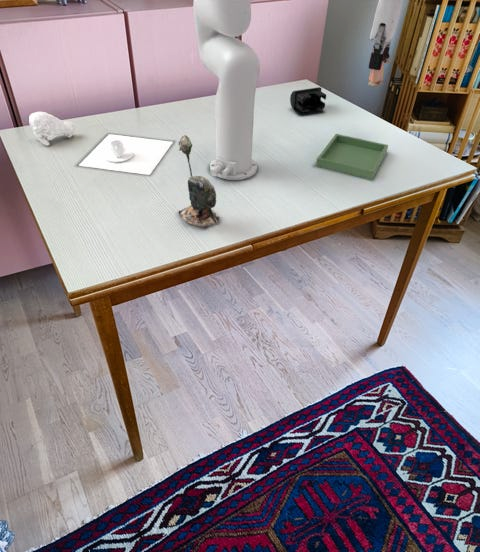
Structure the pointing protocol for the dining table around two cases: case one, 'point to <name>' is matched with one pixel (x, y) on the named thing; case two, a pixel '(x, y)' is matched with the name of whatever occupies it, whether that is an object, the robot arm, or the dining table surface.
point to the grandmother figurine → (377, 75)
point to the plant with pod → (198, 195)
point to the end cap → (307, 101)
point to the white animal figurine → (49, 126)
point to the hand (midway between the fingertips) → (377, 64)
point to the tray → (352, 156)
